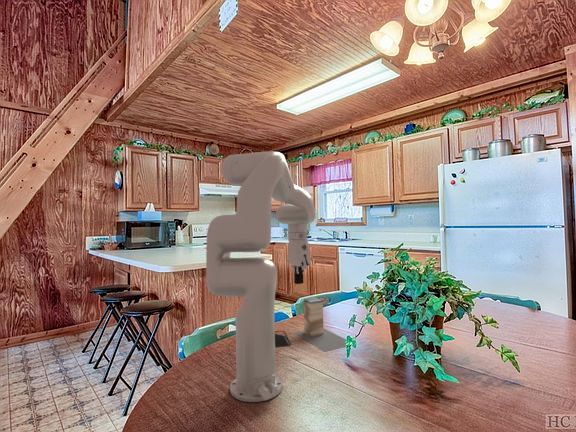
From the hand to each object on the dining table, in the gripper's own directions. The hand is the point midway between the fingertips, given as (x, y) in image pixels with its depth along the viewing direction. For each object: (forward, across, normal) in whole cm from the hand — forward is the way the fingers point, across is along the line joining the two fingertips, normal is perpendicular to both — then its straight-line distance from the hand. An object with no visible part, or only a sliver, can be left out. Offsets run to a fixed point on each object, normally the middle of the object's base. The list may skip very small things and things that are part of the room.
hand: (298, 283), depth 123 cm
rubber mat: (+17, -17, 0) cm, 24 cm away
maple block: (+16, -11, 0) cm, 19 cm away
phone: (+17, -9, +14) cm, 24 cm away
